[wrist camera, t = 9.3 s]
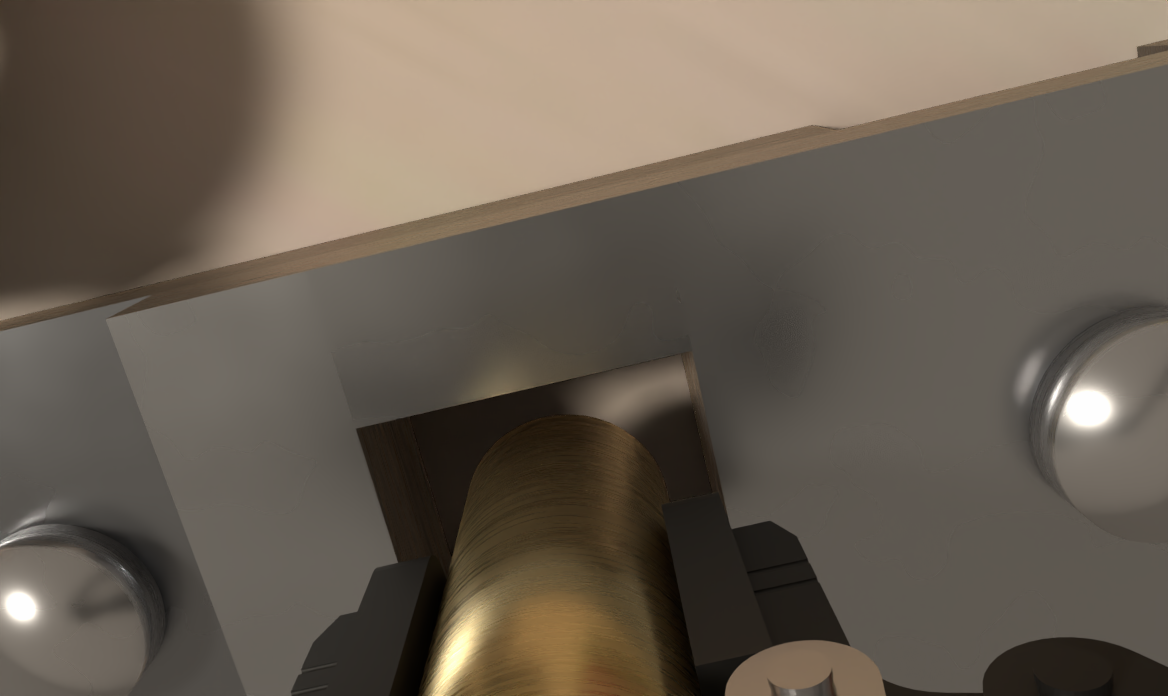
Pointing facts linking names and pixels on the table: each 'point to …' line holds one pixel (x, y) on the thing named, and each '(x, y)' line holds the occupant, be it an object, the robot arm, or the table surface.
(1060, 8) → the table surface
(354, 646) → the robot arm
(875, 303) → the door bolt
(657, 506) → the brass pin
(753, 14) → the table surface
